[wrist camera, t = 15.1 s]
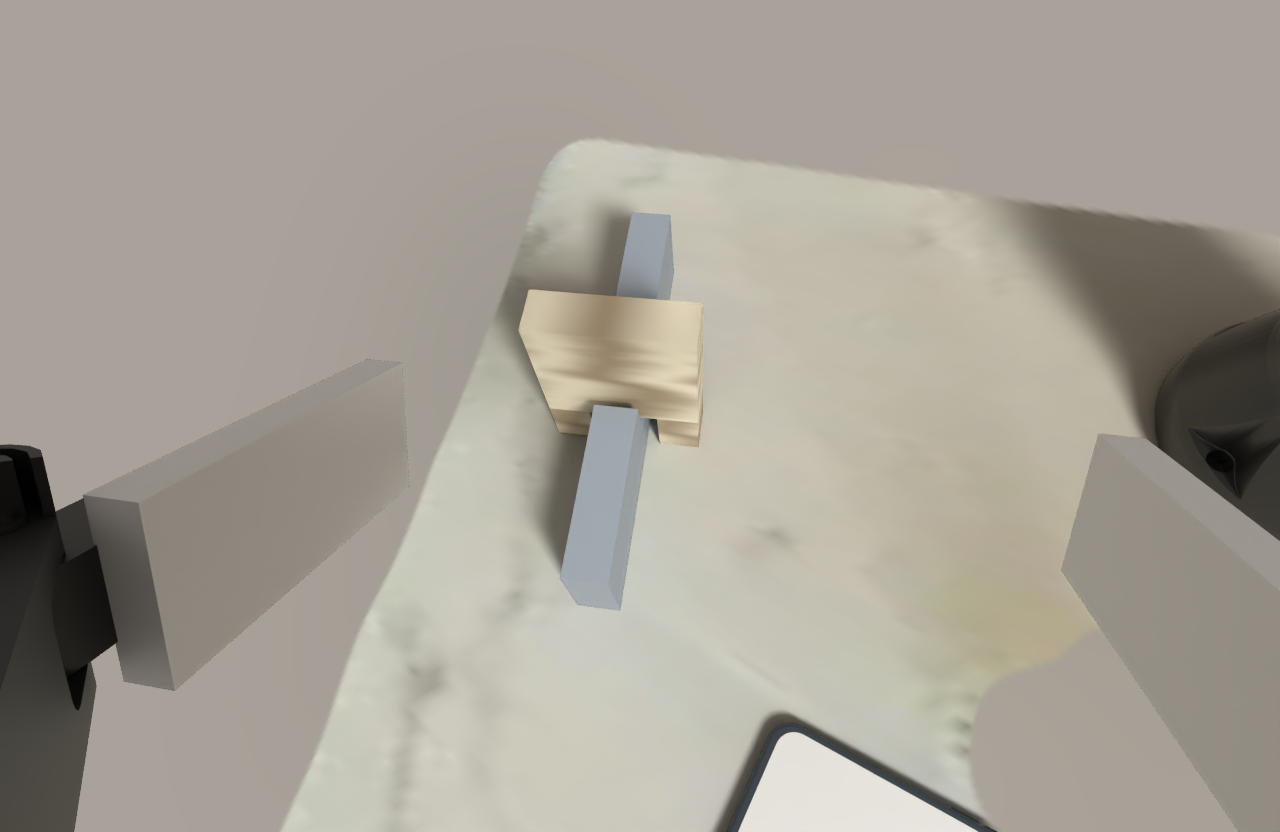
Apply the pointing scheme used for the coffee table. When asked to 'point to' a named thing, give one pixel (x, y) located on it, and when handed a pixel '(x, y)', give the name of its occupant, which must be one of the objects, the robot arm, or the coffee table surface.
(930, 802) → the phone case
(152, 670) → the robot arm
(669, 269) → the grey rail
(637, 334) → the wooden arch block
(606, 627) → the coffee table surface
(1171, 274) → the coffee table surface
